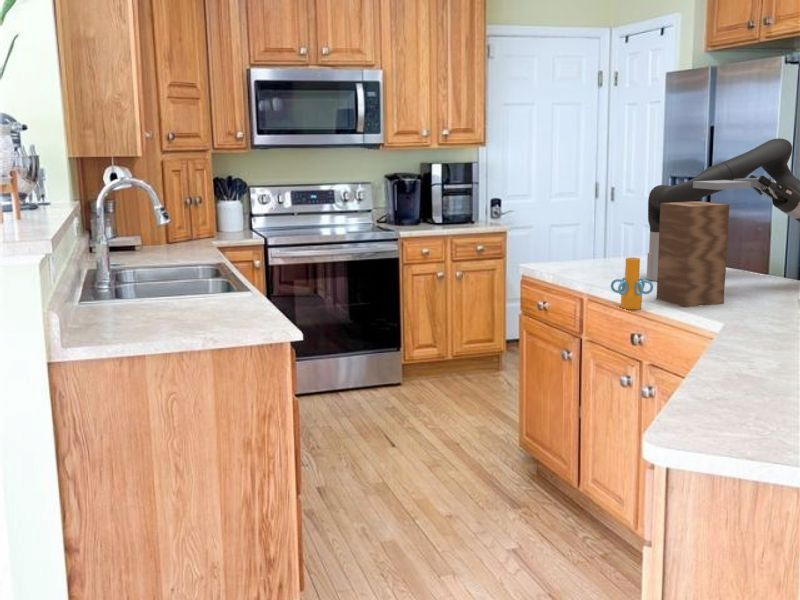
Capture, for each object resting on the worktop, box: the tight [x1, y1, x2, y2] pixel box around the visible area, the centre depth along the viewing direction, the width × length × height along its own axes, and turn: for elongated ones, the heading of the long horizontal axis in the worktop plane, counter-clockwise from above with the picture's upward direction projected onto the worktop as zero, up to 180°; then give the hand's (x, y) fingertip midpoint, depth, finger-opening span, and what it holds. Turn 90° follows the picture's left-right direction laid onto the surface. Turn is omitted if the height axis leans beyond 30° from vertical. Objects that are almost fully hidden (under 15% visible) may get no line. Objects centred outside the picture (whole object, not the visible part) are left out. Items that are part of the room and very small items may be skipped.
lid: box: [693, 177, 772, 191], centre depth 255 cm, size 23×12×2 cm, turn 107°
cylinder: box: [610, 256, 654, 311], centre depth 241 cm, size 12×10×15 cm
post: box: [656, 200, 730, 308], centre depth 247 cm, size 14×14×30 cm
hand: (755, 177), depth 257 cm, fingers closed on lid, 4 cm apart
